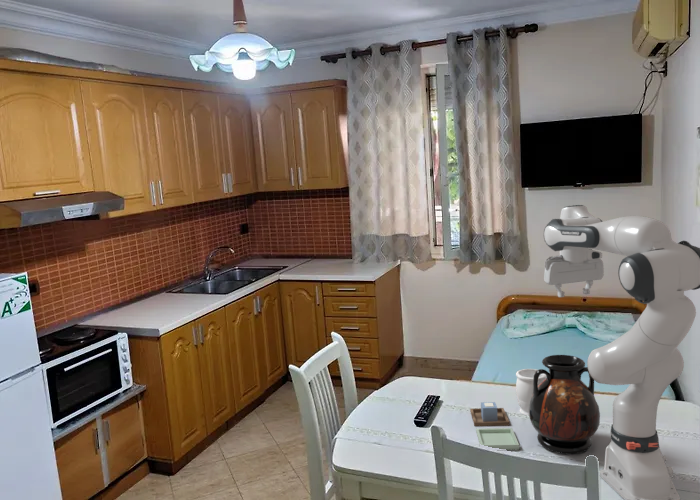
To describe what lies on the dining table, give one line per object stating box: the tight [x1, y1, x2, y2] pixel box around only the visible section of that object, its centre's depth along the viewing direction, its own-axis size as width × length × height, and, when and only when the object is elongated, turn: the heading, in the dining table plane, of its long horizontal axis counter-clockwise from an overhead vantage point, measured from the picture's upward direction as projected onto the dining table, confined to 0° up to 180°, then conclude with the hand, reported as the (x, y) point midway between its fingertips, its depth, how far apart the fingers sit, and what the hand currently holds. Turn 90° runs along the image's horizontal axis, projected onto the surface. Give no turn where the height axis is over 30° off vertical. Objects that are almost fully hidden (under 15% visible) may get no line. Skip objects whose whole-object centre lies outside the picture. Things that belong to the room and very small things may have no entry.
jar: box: [515, 368, 546, 416], centre depth 211 cm, size 11×10×15 cm
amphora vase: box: [528, 354, 601, 455], centre depth 186 cm, size 22×22×28 cm
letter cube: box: [480, 401, 498, 422], centre depth 208 cm, size 5×5×5 cm
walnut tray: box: [469, 407, 510, 427], centre depth 208 cm, size 12×12×2 cm
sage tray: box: [475, 427, 520, 451], centre depth 192 cm, size 12×12×2 cm
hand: (573, 295), depth 193 cm, fingers open, 8 cm apart
